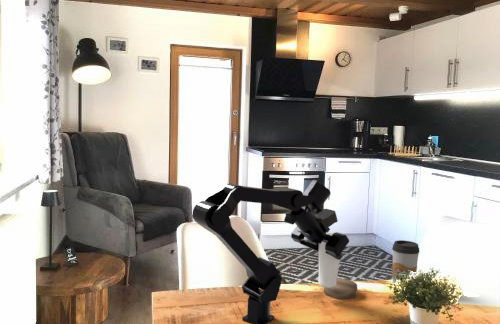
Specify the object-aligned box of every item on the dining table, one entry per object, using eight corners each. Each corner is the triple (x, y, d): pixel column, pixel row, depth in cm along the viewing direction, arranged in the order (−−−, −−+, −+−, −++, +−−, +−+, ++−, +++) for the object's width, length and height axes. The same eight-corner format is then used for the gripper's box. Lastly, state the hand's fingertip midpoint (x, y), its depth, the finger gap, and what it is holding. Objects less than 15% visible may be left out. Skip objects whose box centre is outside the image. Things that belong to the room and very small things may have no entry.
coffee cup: (384, 287, 147) (387, 242, 146) (398, 282, 153) (401, 238, 152) (408, 295, 141) (411, 248, 140) (421, 289, 147) (424, 244, 145)
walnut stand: (349, 302, 134) (350, 292, 134) (318, 294, 140) (319, 284, 140) (361, 292, 143) (361, 282, 142) (331, 284, 148) (332, 275, 148)
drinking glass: (342, 289, 132) (346, 238, 131) (319, 289, 131) (323, 238, 130) (334, 281, 139) (338, 233, 138) (312, 281, 138) (316, 232, 137)
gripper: (347, 206, 123) (370, 242, 130) (300, 195, 138) (324, 228, 145) (324, 238, 119) (350, 273, 126) (279, 223, 134) (304, 255, 141)
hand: (331, 255), depth 135 cm, fingers closed on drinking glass, 7 cm apart
